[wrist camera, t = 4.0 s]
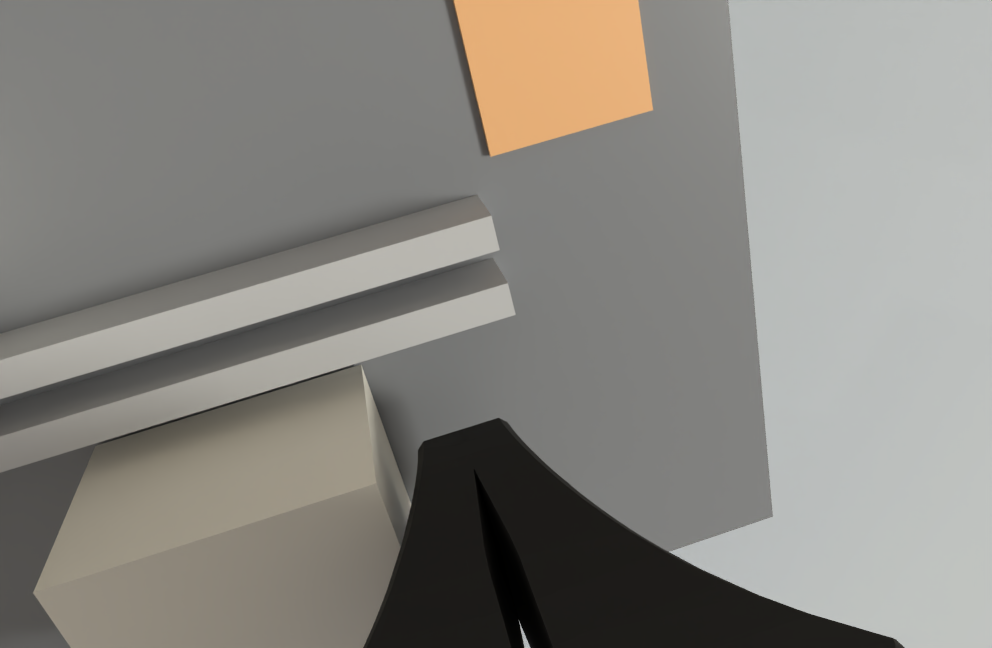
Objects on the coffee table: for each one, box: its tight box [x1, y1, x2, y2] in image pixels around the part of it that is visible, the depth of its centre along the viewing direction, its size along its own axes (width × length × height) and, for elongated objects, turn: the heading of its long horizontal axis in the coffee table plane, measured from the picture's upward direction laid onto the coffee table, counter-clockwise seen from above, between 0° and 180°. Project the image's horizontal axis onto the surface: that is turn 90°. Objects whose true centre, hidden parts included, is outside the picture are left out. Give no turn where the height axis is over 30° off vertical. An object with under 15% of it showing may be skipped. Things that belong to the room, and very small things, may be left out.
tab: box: [33, 365, 411, 648], centre depth 11 cm, size 4×4×3 cm
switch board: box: [0, 0, 773, 648], centre depth 12 cm, size 14×20×3 cm
